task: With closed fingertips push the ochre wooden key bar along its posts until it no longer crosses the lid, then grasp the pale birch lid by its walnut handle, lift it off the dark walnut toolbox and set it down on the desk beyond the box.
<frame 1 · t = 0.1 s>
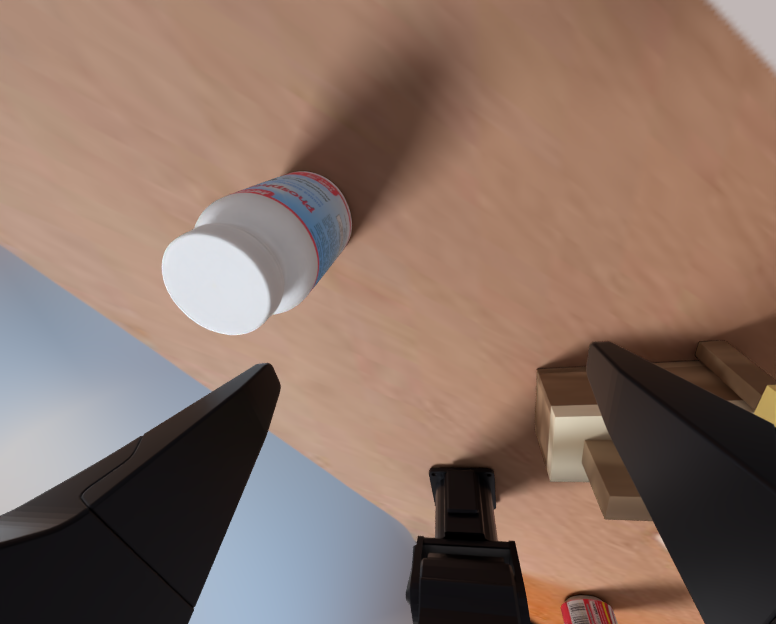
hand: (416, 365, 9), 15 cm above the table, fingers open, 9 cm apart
toolbox: (628, 397, 27), on the table
beverage can: (583, 600, 44), on the table
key: (760, 469, 20), point 6 cm above the table, slide at 0.0 cm
pill bottle: (311, 216, 23), on the table
lid: (655, 438, 23), point 4 cm above the table, touching toolbox
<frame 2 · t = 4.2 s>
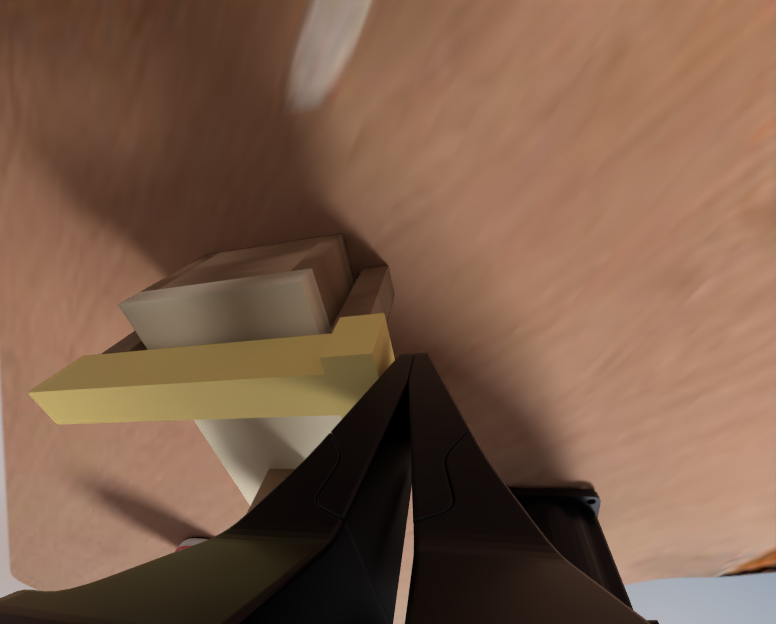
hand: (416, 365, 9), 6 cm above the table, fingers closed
toolbox: (315, 364, 18), on the table
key: (210, 379, 11), point 6 cm above the table, slide at 0.1 cm, touching gripper
lid: (286, 420, 15), point 4 cm above the table, touching toolbox
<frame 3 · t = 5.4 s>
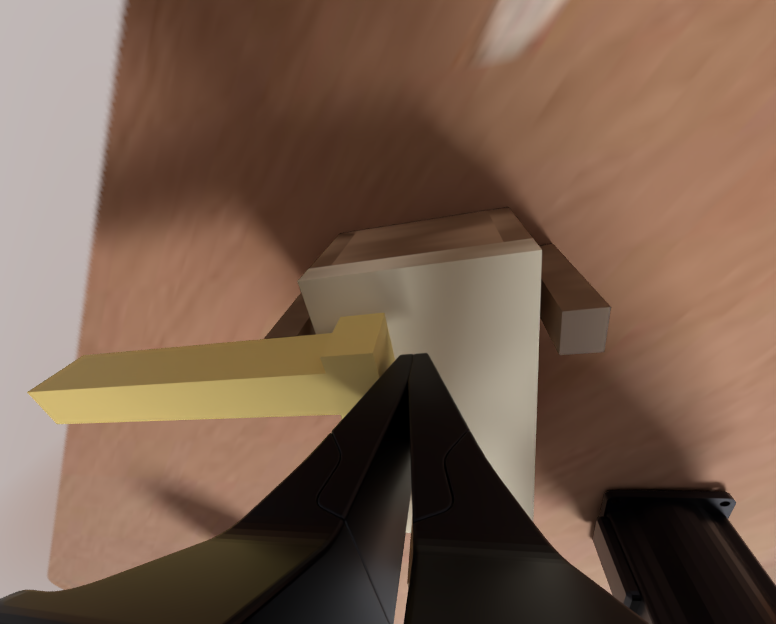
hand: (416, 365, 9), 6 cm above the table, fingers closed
toolbox: (439, 356, 17), on the table
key: (210, 379, 11), point 6 cm above the table, slide at 6.9 cm, touching gripper
lid: (438, 415, 14), point 4 cm above the table, touching toolbox
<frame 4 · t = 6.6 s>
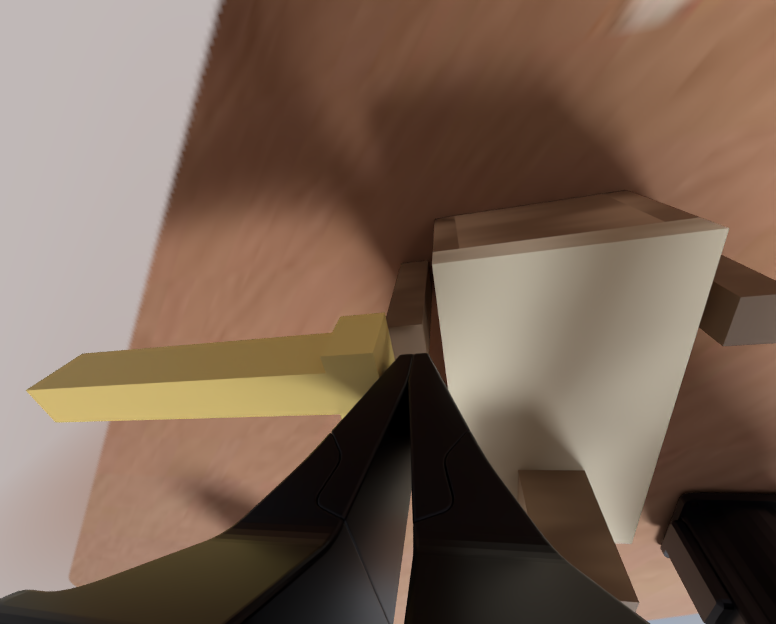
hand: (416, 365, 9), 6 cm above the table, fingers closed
toolbox: (523, 351, 16), on the table
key: (210, 378, 11), point 6 cm above the table, slide at 11.0 cm, touching gripper
lid: (545, 413, 13), point 4 cm above the table, touching toolbox
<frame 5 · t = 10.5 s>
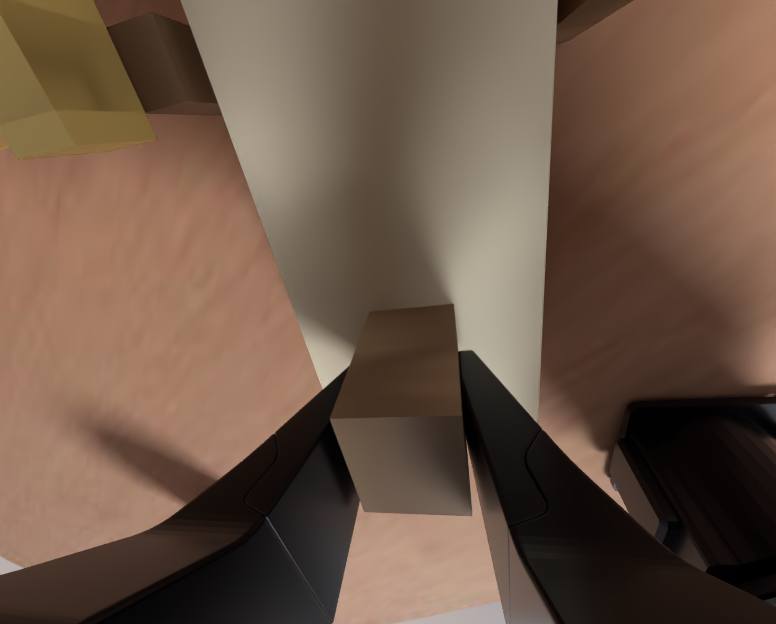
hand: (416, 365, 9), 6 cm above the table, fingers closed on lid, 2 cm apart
toolbox: (413, 198, 13), on the table
lid: (402, 228, 9), point 4 cm above the table, touching gripper, toolbox
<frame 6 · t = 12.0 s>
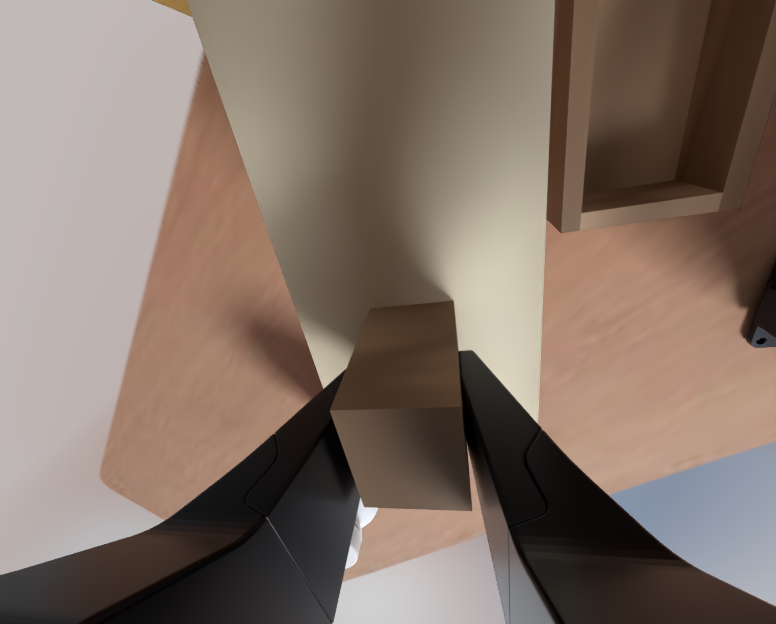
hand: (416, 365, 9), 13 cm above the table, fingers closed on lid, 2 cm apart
toolbox: (626, 44, 15), on the table
pill bottle: (360, 407, 29), on the table
lid: (403, 225, 9), point 11 cm above the table, touching gripper
when the fingers open (3 cm above the table, at t = 14.0 s): lid drops 2 cm, on the table.
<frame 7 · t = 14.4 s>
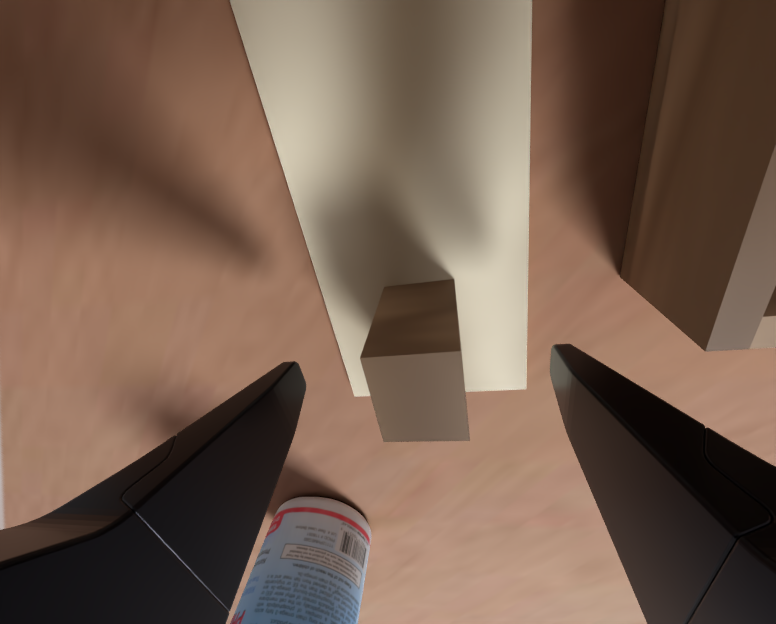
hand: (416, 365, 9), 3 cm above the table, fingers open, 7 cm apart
pill bottle: (326, 516, 21), on the table
lid: (411, 216, 11), on the table
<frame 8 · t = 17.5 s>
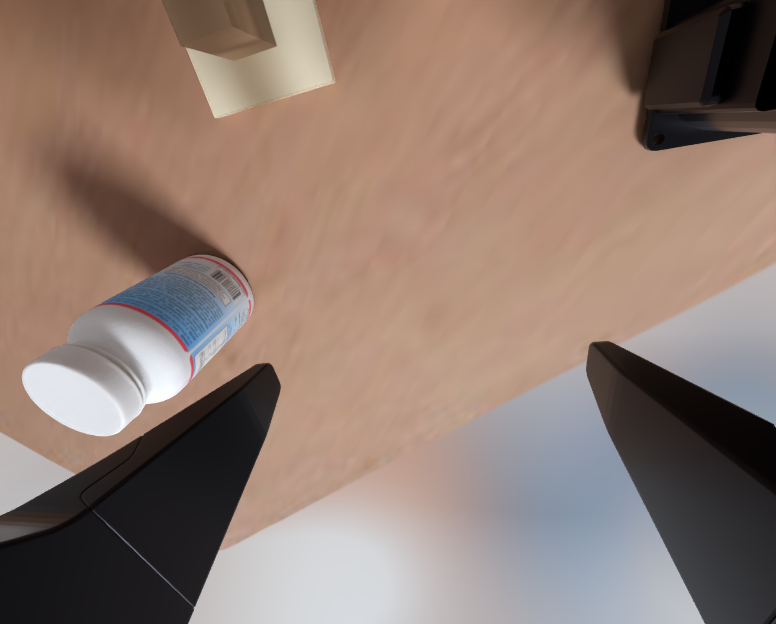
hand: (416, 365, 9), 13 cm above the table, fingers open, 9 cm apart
pill bottle: (218, 289, 25), on the table
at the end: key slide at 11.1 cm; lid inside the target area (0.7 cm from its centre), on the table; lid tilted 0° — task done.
